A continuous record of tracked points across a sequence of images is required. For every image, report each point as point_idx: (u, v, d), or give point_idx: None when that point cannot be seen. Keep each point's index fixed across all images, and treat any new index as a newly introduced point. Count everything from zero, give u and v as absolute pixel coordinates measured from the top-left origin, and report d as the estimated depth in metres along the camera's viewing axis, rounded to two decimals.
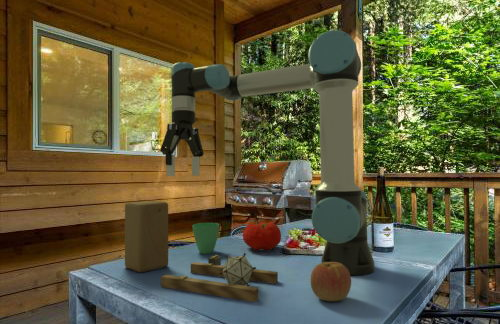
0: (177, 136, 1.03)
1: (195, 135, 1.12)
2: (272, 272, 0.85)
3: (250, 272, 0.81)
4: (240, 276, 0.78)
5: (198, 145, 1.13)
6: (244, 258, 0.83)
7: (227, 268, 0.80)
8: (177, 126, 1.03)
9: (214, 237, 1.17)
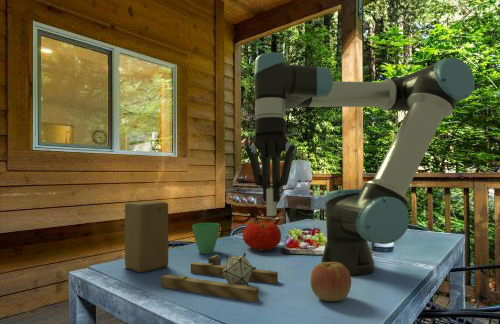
0: None
1: None
2: (272, 272, 0.85)
3: (250, 272, 0.81)
4: (240, 276, 0.78)
5: None
6: (244, 258, 0.83)
7: (227, 268, 0.80)
8: (254, 145, 0.81)
9: (214, 237, 1.17)
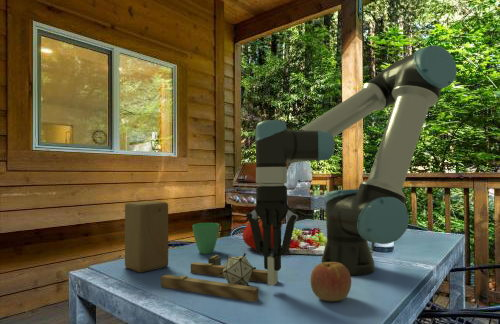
0: None
1: None
2: None
3: (250, 272, 0.81)
4: (240, 276, 0.78)
5: None
6: (244, 258, 0.83)
7: (227, 268, 0.80)
8: (255, 211, 0.80)
9: (214, 237, 1.17)
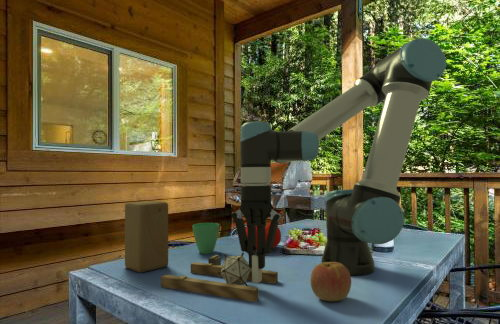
0: None
1: None
2: (272, 272, 0.85)
3: (248, 271, 0.81)
4: (238, 275, 0.79)
5: None
6: (242, 258, 0.83)
7: (225, 268, 0.80)
8: (240, 210, 0.81)
9: (214, 237, 1.17)
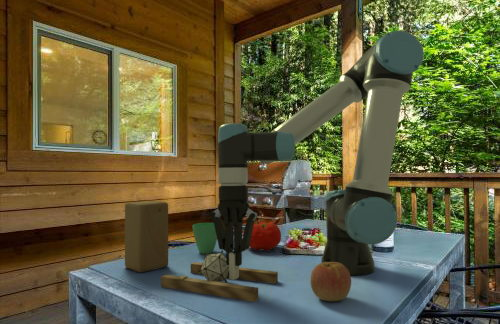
0: None
1: None
2: (272, 272, 0.85)
3: (228, 268, 0.84)
4: (219, 272, 0.81)
5: None
6: (222, 255, 0.86)
7: (206, 265, 0.82)
8: (218, 209, 0.84)
9: (214, 237, 1.17)
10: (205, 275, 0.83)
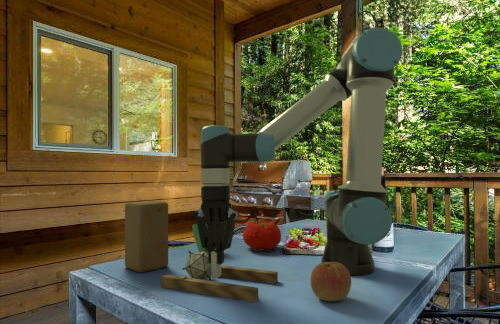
0: None
1: None
2: (272, 272, 0.85)
3: None
4: (203, 270, 0.84)
5: None
6: (206, 253, 0.88)
7: (190, 263, 0.84)
8: (201, 209, 0.86)
9: None
10: (189, 273, 0.85)
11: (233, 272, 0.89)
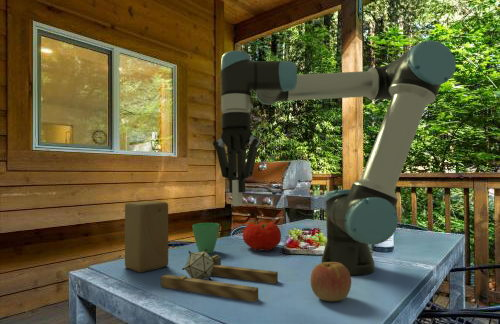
0: None
1: None
2: (272, 272, 0.85)
3: (212, 266, 0.87)
4: (203, 270, 0.84)
5: None
6: (206, 253, 0.88)
7: (190, 263, 0.84)
8: (221, 138, 0.85)
9: (214, 237, 1.17)
10: (189, 273, 0.85)
11: (233, 272, 0.89)
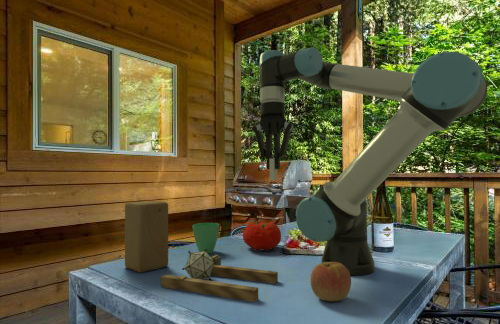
0: None
1: None
2: (272, 272, 0.85)
3: (212, 266, 0.87)
4: (203, 270, 0.84)
5: None
6: (206, 253, 0.88)
7: (190, 263, 0.84)
8: (259, 124, 1.01)
9: (214, 237, 1.17)
10: (189, 273, 0.85)
11: (233, 272, 0.89)
